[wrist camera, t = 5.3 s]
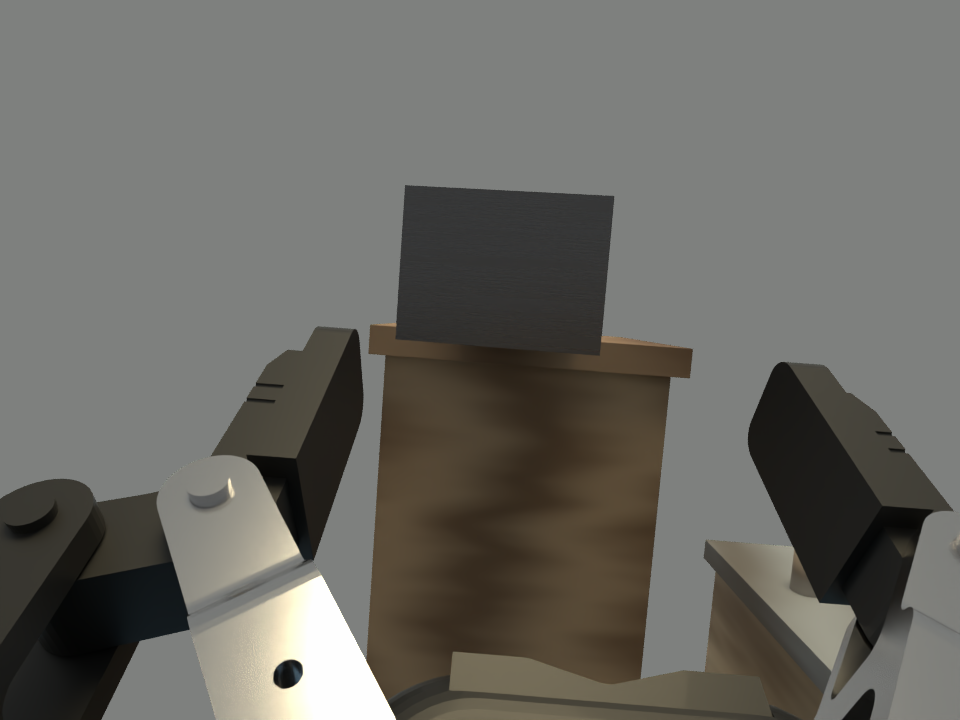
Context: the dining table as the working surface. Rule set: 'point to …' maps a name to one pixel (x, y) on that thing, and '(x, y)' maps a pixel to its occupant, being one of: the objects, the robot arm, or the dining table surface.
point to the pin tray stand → (772, 624)
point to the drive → (504, 268)
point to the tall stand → (516, 505)
